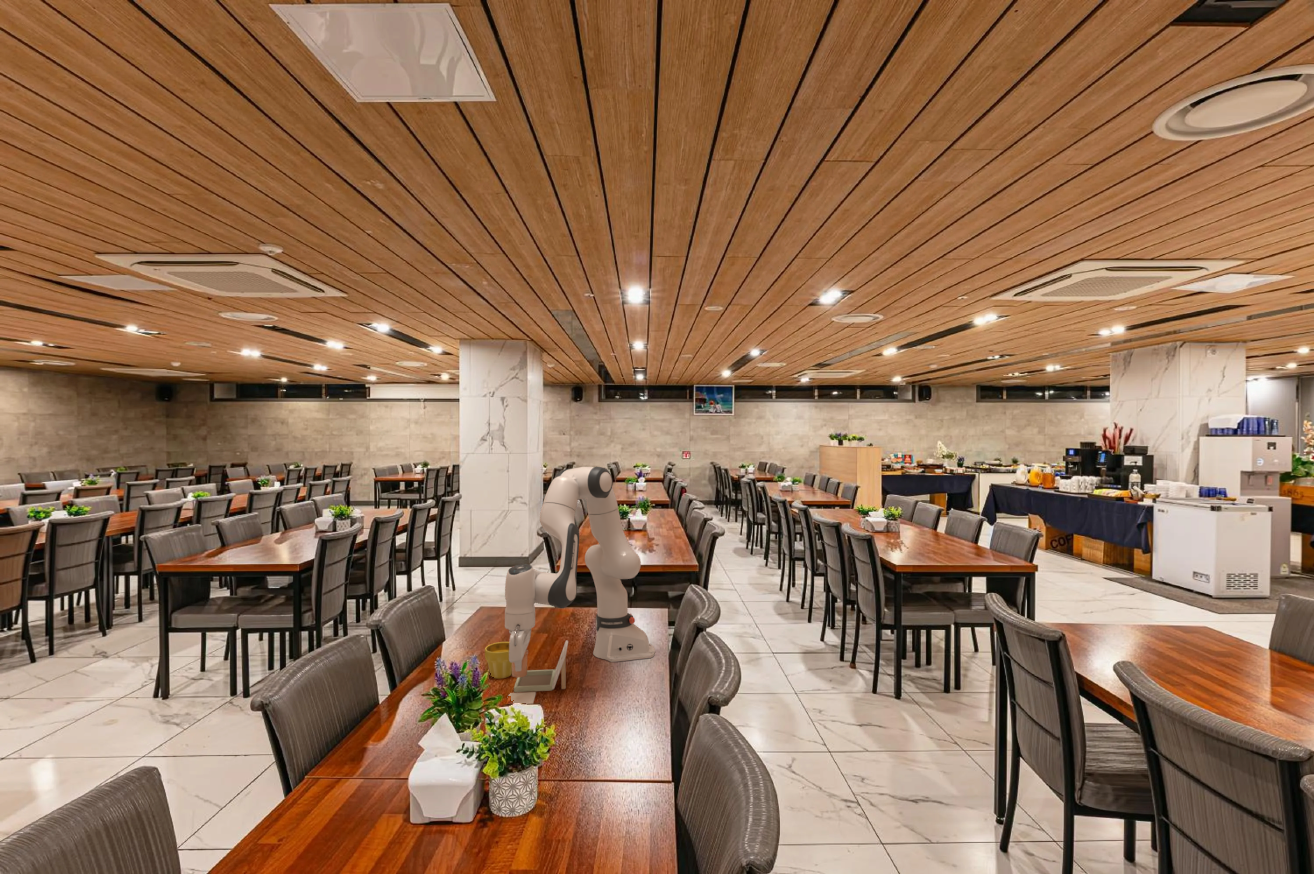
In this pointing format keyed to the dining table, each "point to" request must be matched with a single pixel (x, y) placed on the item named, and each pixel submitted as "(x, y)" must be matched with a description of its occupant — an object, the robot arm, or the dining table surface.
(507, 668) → the plant pot
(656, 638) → the dining table surface
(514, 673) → the terracotta pot
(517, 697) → the plate
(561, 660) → the propped lid
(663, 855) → the dining table surface
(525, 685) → the shallow square tray
